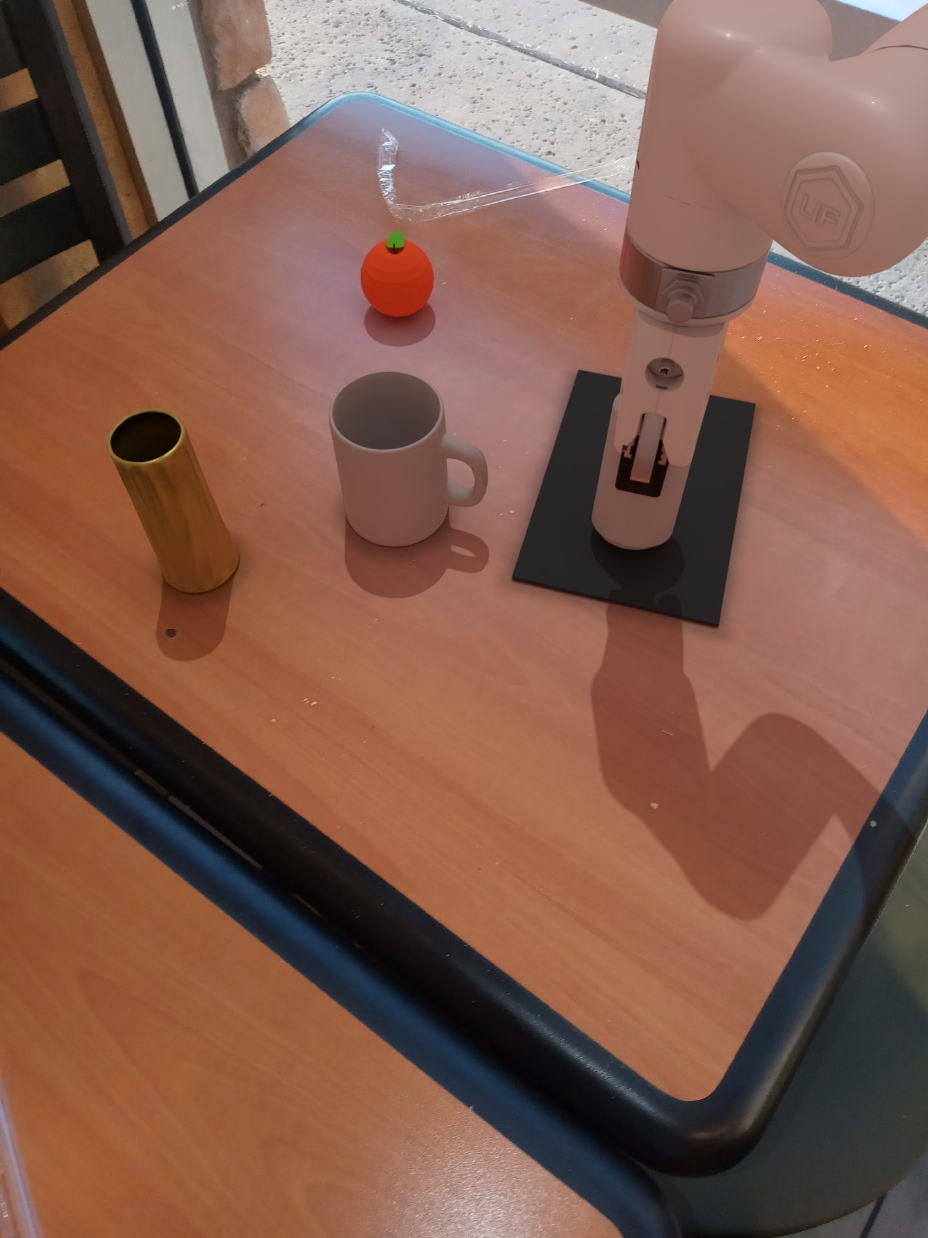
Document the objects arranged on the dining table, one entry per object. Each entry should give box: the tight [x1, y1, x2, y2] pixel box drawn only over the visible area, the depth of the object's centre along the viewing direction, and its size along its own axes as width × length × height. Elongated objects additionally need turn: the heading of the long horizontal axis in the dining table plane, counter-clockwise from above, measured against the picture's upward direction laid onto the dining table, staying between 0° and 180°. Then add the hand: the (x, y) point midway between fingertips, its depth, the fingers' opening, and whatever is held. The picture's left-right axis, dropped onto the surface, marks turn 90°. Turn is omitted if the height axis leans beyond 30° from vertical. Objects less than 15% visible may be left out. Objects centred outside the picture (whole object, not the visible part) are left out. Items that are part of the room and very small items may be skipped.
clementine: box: [359, 230, 435, 318], centre depth 85 cm, size 8×7×7 cm
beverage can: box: [592, 394, 691, 550], centre depth 68 cm, size 6×6×12 cm
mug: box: [328, 369, 489, 548], centre depth 70 cm, size 12×8×11 cm
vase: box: [105, 407, 240, 594], centre depth 66 cm, size 6×6×14 cm
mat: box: [511, 369, 756, 628], centre depth 76 cm, size 24×16×1 cm, turn 164°
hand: (638, 485), depth 64 cm, fingers closed
